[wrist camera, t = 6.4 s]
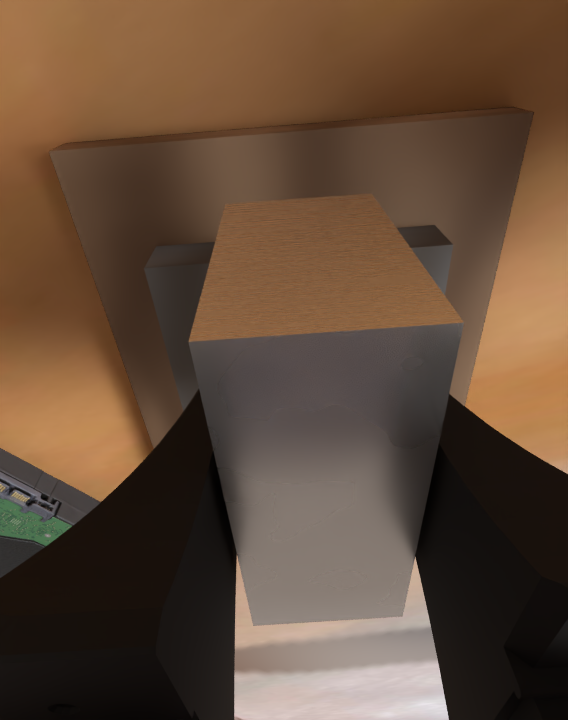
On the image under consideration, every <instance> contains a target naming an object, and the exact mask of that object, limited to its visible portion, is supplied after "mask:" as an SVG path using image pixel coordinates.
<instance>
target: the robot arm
mask: <svg viewBox="0 0 568 720" xmlns="http://www.w3.org/2000/svg"><path fill="white" fill-rule="evenodd" d="M415 557H416V561H417V565H418V569H419V574H420V578H421V583H422V587H423V592H424V596H425V601H426V605H427V610H428V614H429V619H430V624H431V629H432V634H433V638H434V643H435V648H436V653H437V658H438V663H439V668H440V673H441V679H442V684H443V689H444V695H445V700H446V705H447V711H448V716H449V720H568V474H566V473H565V472H563V471H561V470H559V469H557V468H556V467H554V466H552V465H550V464H549V463H547V462H545V461H543V460H542V459H540V458H538V457H537V456H535V455H533V454H532V453H530V452H528V451H527V450H525V449H524V448H522V447H521V446H519V445H517V444H516V443H514V442H513V441H511V440H510V439H508V438H507V437H505V436H504V435H502V434H501V433H499V432H498V431H497V430H495V429H494V428H492V427H491V426H489V425H488V424H487V423H485V422H484V421H483V420H482V419H480V418H479V417H478V416H476V415H475V414H474V413H472V412H471V411H470V410H469V409H467V408H466V407H465V406H464V405H462V404H461V403H460V402H459V401H457V400H456V399H455V398H454V397H453V396H452V395H450V394H449V397H448V402H447V406H446V411H445V416H444V421H443V426H442V430H441V435H440V440H439V445H438V449H437V454H436V459H435V464H434V468H433V473H432V478H431V483H430V488H429V492H428V497H427V502H426V507H425V511H424V516H423V521H422V526H421V531H420V535H419V540H418V545H417V550H416V554H415ZM236 559H237V552H236V547H235V543H234V539H233V534H232V530H231V526H230V521H229V517H228V512H227V508H226V504H225V499H224V495H223V491H222V486H221V482H220V478H219V473H218V469H217V464H216V460H215V456H214V451H213V447H212V443H211V438H210V434H209V429H208V425H207V421H206V416H205V412H204V408H203V403H202V399H201V395H200V390H199V389H198V390H197V392H196V393H195V395H194V397H193V398H192V399H191V401H190V402H189V404H188V405H187V407H186V408H185V410H184V411H183V412H182V414H181V415H180V417H179V418H178V419H177V421H176V422H175V423H174V425H173V426H172V427H171V428H170V430H169V431H168V432H167V434H166V435H165V436H164V437H163V439H162V440H161V441H160V442H159V444H158V445H157V446H156V447H155V448H154V449H153V451H152V452H151V453H150V454H149V455H148V456H147V457H146V459H145V460H144V461H143V462H142V463H141V464H140V465H139V466H138V467H137V468H136V469H135V470H134V471H133V472H132V473H131V474H130V475H129V476H128V477H127V478H126V479H125V480H124V481H123V482H122V483H121V484H120V485H119V486H118V487H117V488H116V489H115V490H114V491H113V492H112V493H111V494H109V495H108V496H107V497H106V498H105V499H104V500H103V501H102V502H101V503H100V504H99V505H97V506H96V507H95V508H94V509H93V510H92V511H90V512H89V513H88V514H87V515H85V516H84V517H83V518H82V519H81V520H79V521H78V522H77V523H76V524H74V525H73V526H72V527H71V528H69V529H68V530H67V531H65V532H64V533H63V534H62V535H60V536H59V537H58V538H56V539H55V540H54V541H52V542H51V543H50V544H48V545H47V546H46V547H44V548H43V549H41V550H40V551H39V552H37V553H36V554H34V555H33V556H31V557H30V558H29V559H27V560H26V561H24V562H23V563H21V564H20V565H18V566H17V567H16V568H14V569H13V570H11V571H10V572H8V573H7V574H6V575H4V576H3V577H1V578H0V720H234V654H235V595H236Z"/></svg>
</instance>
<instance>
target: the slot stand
mask: <svg viewBox="0 0 568 720" xmlns="http://www.w3.org/2000/svg"><path fill="white" fill-rule="evenodd" d="M533 114H534V112H531V111H527V110H523V109H519V108H515V107H507V108H494V109H482V110H470V111H457V112H445V113H433V114H420V115H408V116H396V117H383V118H371V119H359V120H346V121H334V122H322V123H309V124H297V125H285V126H272V127H260V128H247V129H235V130H223V131H210V132H198V133H186V134H173V135H161V136H149V137H136V138H124V139H112V140H99V141H87V142H75V143H65V144H63V145H61V146H59V147H57V148H55V149H53V150H50V151H49V154H50V156H51V159H52V162H53V165H54V168H55V171H56V173H57V176H58V179H59V182H60V185H61V188H62V190H63V193H64V196H65V199H66V202H67V205H68V207H69V210H70V213H71V216H72V219H73V222H74V224H75V227H76V230H77V233H78V236H79V239H80V241H81V244H82V247H83V250H84V253H85V256H86V258H87V261H88V264H89V267H90V270H91V273H92V275H93V278H94V281H95V284H96V287H97V290H98V292H99V295H100V298H101V301H102V304H103V307H104V309H105V312H106V315H107V318H108V321H109V323H110V326H111V329H112V332H113V335H114V338H115V340H116V343H117V346H118V349H119V352H120V355H121V357H122V360H123V363H124V366H125V369H126V372H127V374H128V377H129V380H130V383H131V386H132V389H133V391H134V394H135V397H136V400H137V403H138V406H139V408H140V411H141V414H142V417H143V420H144V423H145V425H146V428H147V431H148V434H149V437H150V440H151V442H152V445H153V448H155V447H156V446H157V445H158V444H159V442H160V441H161V440H162V439H163V437H164V436H165V435H166V434H167V432H168V431H169V430H170V428H171V427H172V426H173V425H174V423H175V422H176V421H177V419H178V418H179V417H180V415H181V414H182V412H183V411H184V410H185V408H186V407H187V405H188V404H189V402H190V401H191V399H192V398H193V397H194V395H195V393H196V392H197V390H198V389H199V386H198V381H197V377H196V373H195V368H194V364H193V360H192V355H191V351H190V346H189V338H190V334H191V330H192V327H193V323H194V319H195V315H196V312H197V308H198V304H199V301H200V297H201V293H202V289H203V286H204V282H205V278H206V274H207V271H208V267H209V263H210V259H211V256H212V252H213V248H214V245H215V241H216V237H217V233H218V230H219V226H220V222H221V218H222V215H223V211H224V207H225V204H233V203H247V202H261V201H274V200H288V199H302V198H315V197H329V196H343V195H357V194H370V193H372V195H373V196H374V198H375V199H376V200H377V202H378V203H379V205H380V206H381V207H382V209H383V210H384V212H385V213H386V214H387V216H388V217H389V219H390V220H391V221H392V223H393V224H394V225H395V227H396V228H397V230H398V231H399V232H400V234H401V235H402V237H403V238H404V239H405V241H406V242H407V244H408V245H409V246H410V248H411V249H412V251H413V252H414V253H415V255H416V256H417V258H418V259H419V260H420V262H421V263H422V265H423V266H424V267H425V269H426V270H427V272H428V273H429V274H430V276H431V277H432V279H433V280H434V281H435V283H436V284H437V286H438V287H439V288H440V290H441V291H442V293H443V294H444V295H445V297H446V298H447V299H448V301H449V302H450V304H451V305H452V306H453V308H454V309H455V311H456V312H457V313H458V315H459V316H460V318H461V319H462V320H463V322H464V325H463V330H462V335H461V340H460V344H459V349H458V354H457V359H456V363H455V368H454V373H453V378H452V383H451V387H450V392H449V394H450V395H452V396H453V397H454V398H455V399H456V400H457V401H459V402H460V403H461V404H462V405H464V406H465V403H466V399H467V394H468V390H469V386H470V382H471V377H472V373H473V369H474V365H475V360H476V356H477V352H478V348H479V343H480V339H481V335H482V331H483V326H484V322H485V318H486V314H487V309H488V305H489V301H490V297H491V292H492V288H493V284H494V280H495V275H496V271H497V267H498V263H499V258H500V254H501V250H502V246H503V241H504V237H505V233H506V229H507V224H508V220H509V216H510V212H511V207H512V203H513V199H514V195H515V190H516V186H517V182H518V178H519V173H520V169H521V165H522V161H523V156H524V152H525V148H526V144H527V140H528V135H529V131H530V127H531V123H532V118H533Z"/></svg>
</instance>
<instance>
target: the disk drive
mask: <svg viewBox="0 0 568 720" xmlns="http://www.w3.org/2000/svg"><path fill="white" fill-rule="evenodd" d="M100 503H101V502H99V501H98V500H96V499H94V498H92V497H90V496H89V495H87V494H85V493H83V492H81V491H79V490H78V489H76V488H74V487H72V486H70V485H68V484H66V483H64V482H63V481H61V480H59V479H56V478H54V477H53V476H51V475H49V474H47V473H45V472H44V471H42V470H40V469H38V468H37V467H35V466H33V465H31V464H29V463H27V462H25V461H23V460H22V459H20V458H18V457H16V456H14V455H12V454H10V453H8V452H7V451H5V450H3V449H1V448H0V578H1V577H3V576H4V575H6V574H7V573H8V572H10V571H11V570H13V569H14V568H16V567H17V566H18V565H20V564H21V563H23V562H24V561H26V560H27V559H29V558H30V557H31V556H33V555H34V554H36V553H37V552H39V551H40V550H41V549H43V548H44V547H46V546H47V545H48V544H50V543H51V542H52V541H54V540H55V539H56V538H58V537H59V536H60V535H62V534H63V533H64V532H65V531H67V530H68V529H69V528H71V527H72V526H73V525H74V524H76V523H77V522H78V521H79V520H81V519H82V518H83V517H84V516H85V515H87V514H88V513H89V512H90V511H92V510H93V509H94V508H95V507H96V506H97V505H99V504H100Z"/></svg>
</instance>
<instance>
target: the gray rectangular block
mask: <svg viewBox="0 0 568 720" xmlns="http://www.w3.org/2000/svg"><path fill="white" fill-rule="evenodd" d="M463 325H464V322H463V320H462V319H461V318H460V316H459V315H458V313H457V312H456V311H455V309H454V308H453V306H452V305H451V304H450V302H449V301H448V299H447V298H446V297H445V295H444V294H443V293H442V291H441V290H440V288H439V287H438V286H437V284H436V283H435V281H434V280H433V279H432V277H431V276H430V274H429V273H428V272H427V270H426V269H425V267H424V266H423V265H422V263H421V262H420V260H419V259H418V258H417V256H416V255H415V253H414V252H413V251H412V249H411V248H410V246H409V245H408V244H407V242H406V241H405V239H404V238H403V237H402V235H401V234H400V232H399V231H398V230H397V228H396V227H395V225H394V224H393V223H392V221H391V220H390V219H389V217H388V216H387V214H386V213H385V212H384V210H383V209H382V207H381V206H380V205H379V203H378V202H377V200H376V199H375V198H374V196H373V195H372V193H370V194H357V195H343V196H329V197H315V198H302V199H288V200H274V201H261V202H247V203H233V204H225V207H224V211H223V215H222V218H221V222H220V226H219V230H218V233H217V237H216V241H215V245H214V248H213V252H212V256H211V259H210V263H209V267H208V271H207V274H206V278H205V282H204V286H203V289H202V293H201V297H200V301H199V304H198V308H197V312H196V315H195V319H194V323H193V327H192V330H191V334H190V338H189V346H190V351H191V355H192V360H193V364H194V368H195V373H196V377H197V381H198V386H199V390H200V395H201V399H202V403H203V408H204V412H205V416H206V421H207V425H208V429H209V434H210V438H211V443H212V447H213V451H214V456H215V460H216V464H217V469H218V473H219V478H220V482H221V486H222V491H223V495H224V499H225V504H226V508H227V512H228V517H229V521H230V526H231V530H232V534H233V539H234V543H235V547H236V552H237V556H238V561H239V565H240V569H241V574H242V578H243V582H244V587H245V591H246V595H247V600H248V604H249V609H250V613H251V617H252V622H253V626H257V625H273V624H289V623H305V622H321V621H337V620H353V619H369V618H385V617H401V616H403V612H404V607H405V602H406V597H407V593H408V588H409V583H410V578H411V573H412V569H413V564H414V559H415V554H416V550H417V545H418V540H419V535H420V531H421V526H422V521H423V516H424V511H425V507H426V502H427V497H428V492H429V488H430V483H431V478H432V473H433V468H434V464H435V459H436V454H437V449H438V445H439V440H440V435H441V430H442V426H443V421H444V416H445V411H446V406H447V402H448V397H449V392H450V387H451V383H452V378H453V373H454V368H455V363H456V359H457V354H458V349H459V344H460V340H461V335H462V330H463Z"/></svg>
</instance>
